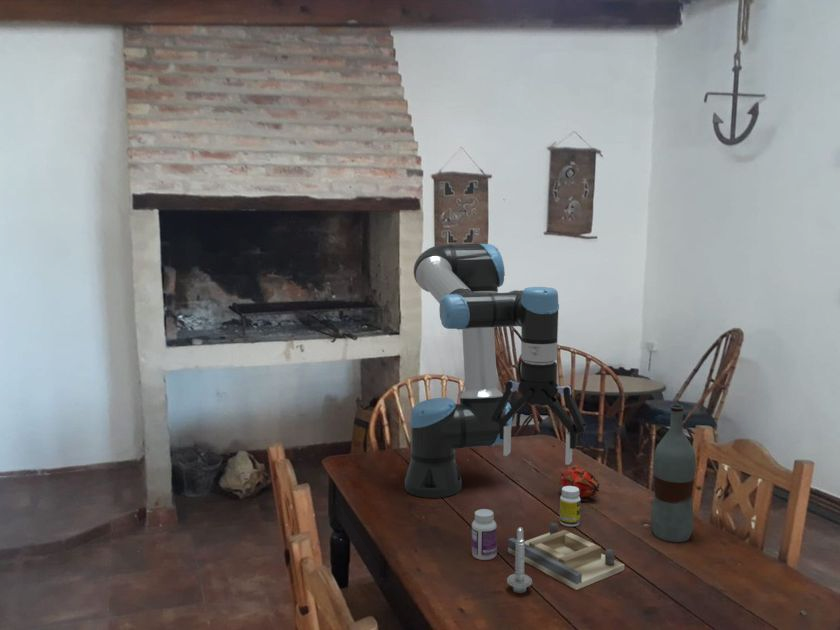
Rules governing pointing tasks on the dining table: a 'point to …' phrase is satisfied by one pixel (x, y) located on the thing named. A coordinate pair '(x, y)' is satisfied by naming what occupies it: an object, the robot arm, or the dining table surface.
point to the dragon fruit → (580, 481)
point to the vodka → (673, 483)
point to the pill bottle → (484, 535)
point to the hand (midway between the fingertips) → (537, 458)
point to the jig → (568, 558)
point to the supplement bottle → (570, 506)
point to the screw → (519, 566)
